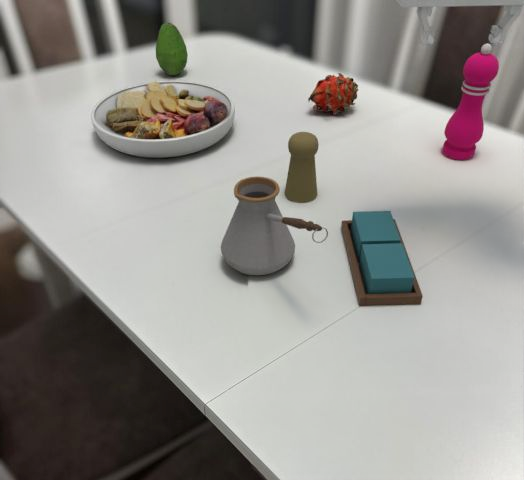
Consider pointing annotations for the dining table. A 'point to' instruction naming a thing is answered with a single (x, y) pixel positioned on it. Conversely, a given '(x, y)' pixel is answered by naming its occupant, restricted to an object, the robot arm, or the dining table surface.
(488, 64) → the pepper mill
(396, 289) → the teal block
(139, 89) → the bowl
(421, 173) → the dining table surface
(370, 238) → the loose pad
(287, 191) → the olive peg doll
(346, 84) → the dragon fruit
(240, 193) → the coffee pot
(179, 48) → the avocado
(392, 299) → the brown wooden tray
